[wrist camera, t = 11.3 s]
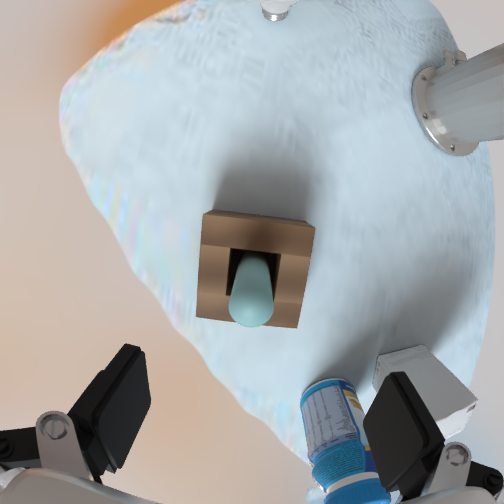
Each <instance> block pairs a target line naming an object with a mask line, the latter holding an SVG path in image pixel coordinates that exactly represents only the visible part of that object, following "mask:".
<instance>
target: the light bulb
mask: <svg viewBox="0 0 504 504" xmlns="http://www.w3.org/2000/svg"><path fill="white" fill-rule="evenodd" d="M259 1H260V3H261V6H262V13H263V14H264V17H265V18H266V19H268V20H271V21H280V20H283V19H284V18H286V16H287V14H288V10H289V9H290V7H291V5H292V4H294V3H296V2H298V1H300V0H259Z"/></svg>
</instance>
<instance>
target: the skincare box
mask: <svg viewBox="0 0 504 504" xmlns="http://www.w3.org/2000/svg"><path fill="white" fill-rule="evenodd" d="M398 371H404V372H405V373H406V374H407V376H408V377H409V379H410V380H411V382H412V384H413V385H414V387H415V388H416V390H417V392H418V393H419V395H420V397H421V398H422V400H423V402H424V403H425V405H426V407H427V408H428V410H429V412H430V413H431V415H432V417H433V418H434V420H435V422H436V424H437V425H438V427H439V429H440V431H441V433H442V434H443V436H444V438H445V439H447V438H449V437H451V436H453V435H455V434H457V433H459V432H461V431H462V430H463V429H464V427H465V425H466V423H467V421H468V419H469V417H470V415H471V413H472V411H473V409H474V407H475V405H476V403H477V401H478V399H477V398H476V397H475V396H474V395H473V393H472V392H471V391H470V390H469V389H468V388H467V387H466V386H465V385H464V384H463V383H462V382H461V381H460V380H459V379H458V378H457V377H456V376H455V375H454V374H453V373H452V372H451V371H450V370H448V369H447V368H446V367H445V366H444V365H443V364H442V363H441V362H440V361H439V360H438V359H437V358H436V357H435V356H434V355H433V354H432V353H431V352H430V351H429V350H428V349H427V348H426V347H425V346H424V345H419V346H415V347H412V348H408V349H404V350H400V351H396V352H392V353H388V354H384V355H379V356H378V359H377V365H376V370H375V374H374V379H373V383H372V384H373V388H374V389H375V391H376V392H377V393H378V391H379V389H380V387H381V385H382V383H383V381H384V379H385V377H386V376H388V375H389V373H391V372H398Z"/></svg>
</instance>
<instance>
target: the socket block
mask: <svg viewBox="0 0 504 504" xmlns="http://www.w3.org/2000/svg"><path fill="white" fill-rule="evenodd" d="M314 234H315V227H313V226H312V225H310V224H309V223H307V222H306V221H299V220H292V219H284V218H276V217H268V216H260V215H252V214H243V213H235V212H226V211H216V210H211V211H209V212H207V213H205V214H203V220H202V231H201V244H200V257H199V271H198V288H197V307H196V317H200V318H207V319H214V320H221V321H229V322H236V321H235V320H234V319H233V318H232V317H231V315H230V312H229V301H230V297H231V293H232V289H233V285H234V281H235V277H236V273H237V269H238V265H239V260H240V257H241V255H242V253H243V252H244V251H245V250H253V251H261V252H264V253H265V254H266V256H267V260H268V267H269V274H270V281H271V288H272V296H273V303H274V311H273V314H272V316H271V318H270V319H269V320H268V321H267V322H266V323H265V324H263V325H265V326H275V327H286V328H297V326H298V321H299V317H300V312H301V307H302V302H303V297H304V291H305V286H306V281H307V275H308V270H309V264H310V258H311V252H312V246H313V240H314Z"/></svg>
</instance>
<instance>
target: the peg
mask: <svg viewBox="0 0 504 504" xmlns="http://www.w3.org/2000/svg"><path fill="white" fill-rule="evenodd" d="M273 311H274V303H273V296H272V288H271V281H270V274H269V267H268V260H267V256H266V254H265V253H264V252H261V251H253V250H245V251H244V252H243V253H242V255H241V257H240V260H239V265H238V269H237V273H236V277H235V281H234V285H233V289H232V293H231V297H230V301H229V312H230V315H231V317H232V318H233V319H234V320H235V321H236V322H237V323H238V324H240V325H242V326H245V327H258V326H261V325H263V324H265V323H266V322H267V321H268V320H269V319H270V318H271V316H272V314H273Z"/></svg>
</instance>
